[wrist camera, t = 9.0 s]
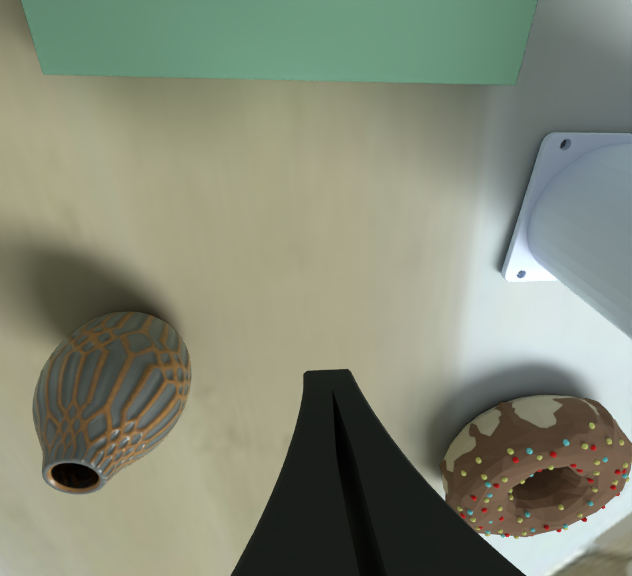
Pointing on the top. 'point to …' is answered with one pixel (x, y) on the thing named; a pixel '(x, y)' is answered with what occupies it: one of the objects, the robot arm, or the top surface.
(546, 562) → the top surface
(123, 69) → the board
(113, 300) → the top surface
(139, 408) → the vase
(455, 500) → the donut
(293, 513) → the robot arm
